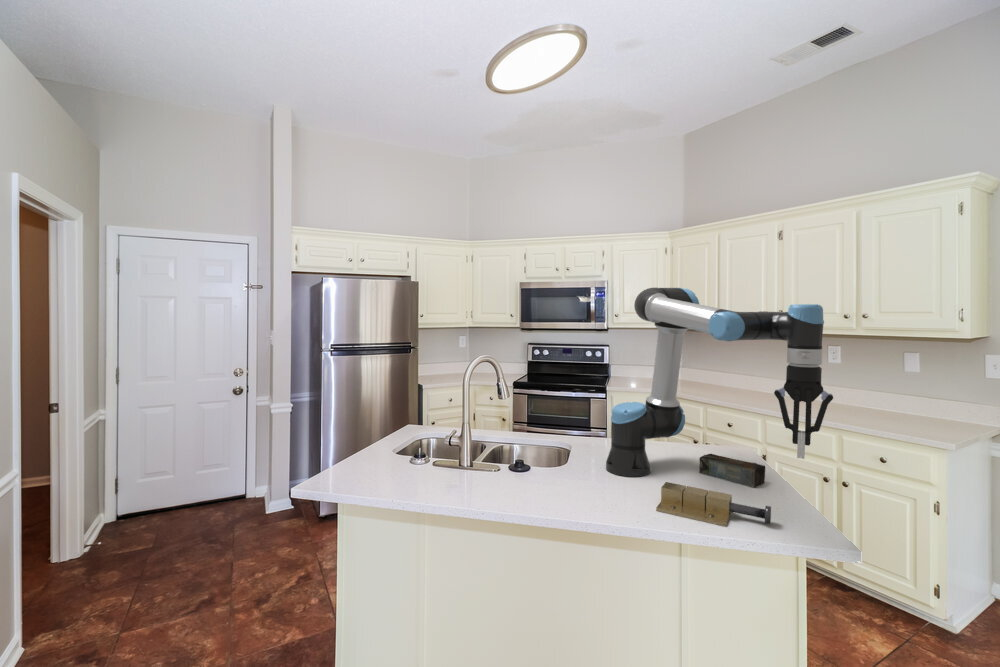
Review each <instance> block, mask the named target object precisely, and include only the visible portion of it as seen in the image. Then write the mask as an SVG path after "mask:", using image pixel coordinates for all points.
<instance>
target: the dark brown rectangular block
mask: <svg viewBox="0 0 1000 667" xmlns="http://www.w3.org/2000/svg"><path fill="white" fill-rule="evenodd" d="M698 467H699V468H698V469H699V470H698V471H699V472H698V473H699V474H701V475H704V476H705V475H706V476H709V477H712V478H715V479H720V480H723V481H727V482H730V483H731V482H732V483H735V484H740V485H743V486H747V487H750V488H757V487H759V486H762V485H763V484H765V481H766V466H765V465H764V464H759V463H756V462H749V461H745V460H740V459H735V458H732V457H728V456H727V457H726V456H723V455H718V454H713V453H707V454H704V455H702V456H700V457H699V466H698ZM761 484H762V485H761Z"/></svg>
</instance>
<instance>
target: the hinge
mask: <svg viewBox="0 0 1000 667" xmlns="http://www.w3.org/2000/svg"><path fill="white" fill-rule="evenodd" d="M660 490H661V491H660V493H661V494H660V495H661V496H660V497H661V498H660V502H659V504H658V505H657V506H656V510H655V511H656V512H660V513H663V514H669V515H674V516H678V517H681V518H682V517H683V518H687V519H690V520H696V521H700V522H703V523H709V524H713V525H716V526H722V527H727V525H728V523H729V520H730V517H731V515H732V513H733V512H730V511H729V508H730V502H731V503H733V502H732V500H733V495H732V494H731V493H726V492H725V493H724V492H721V491H720V492H719V491H715V490H710V489H706V488H705V489H704V488H700V487H694V486H688V485H685V484H684V485H682V484H680V483H679V484H678V483H673V482H668V481H665V482H664V484H663V485H662V486H661V489H660Z"/></svg>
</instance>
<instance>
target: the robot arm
mask: <svg viewBox="0 0 1000 667" xmlns="http://www.w3.org/2000/svg"><path fill="white" fill-rule="evenodd" d="M634 310H635V313H636V315H637V316H638V317H639V318H640V319H641V320H643V321H645V322H651V323H654V326H655V328H656V329H657V340H656V349H655V357H654V366H653V375H652V384H651V393H650V394H649V395H648V396H646V399H645V404H644V403H643V402H637V401H632V402H631V401H630V402H629V401H628V402H621V403H618V404H616V405H615V406H613V408H612V410H611V418H610V421H611V426H610V428H611V432H610V433H611V436H610V437H611V439H610V440H611V443H610V444H611V445H610V450H609V452H608V456H607V458H606V461H605V470H607V472H609V473H610V474H613V475H618V476H621V477H627V478H628V477H631V478H632V477H633V478H636V477H644V476H647V475H649V474H650V473H651V464H650V460H649V458H648V454H647V451H646V440H651V439H661V438H662V439H663V438H664V439H665V438H671V437H674V436H677V435H679V434H680V433H681V432H682V430H683V428H684V426H685V424H686V415H685V413H684V410H683V408H682V407H681V402H680V401H679V400H678V399H677V393H678V384H679V377H680V376H679V375H680V367H681V361H682V354H683V344H684V337H685V333H686V332H687V331H688V330H692V331H693V330H694V331H697V332H700V333H705V334H708V335H711V336H712V337H713V338H714V339H715V340H717V341H724V342H734V341H760V340H761V341H762V340H763V341H764V340H765V341H766V340H768V341H769V340H773V341H787V348H786V363H787V364H788V365H787V366H786V373H785V374H786V375H785V377H786V378H785V382H784V385H783V387H780V388H779V389H775V390H774V392H773V394H774V396H775V397H776V398H777V400H778V404H779V409H780V413H781V416H782V420H783V424H784V428H785V429H789V430H790V431H792V439H791V440H792V444H794V445H797V446H796V447H797V449H796V451H797V454H796V455H797V456H796V458H797V459H803V460H804V459H805V455H806V454H805V453H806V451H805V448H806V446H810V445H811V435H812V434H813V433H815V432H816V433H817V432H819V431H820V430H821V428H822V427H821V426H822V423H823V421H824V417H825V414H826V412H827V409H828V406H829V404H830V403H831V402H832V401H833V400H834V395H833V394H832V393H828V392H827V391H825V390H824V387H823V385H822V369H823V368H822V367H821V365H822V364H823V333H824V324H825V321H824V307H823V306H822V305H820V304H818V303H817V304H816V303H815V304H811V303H810V304H809V303H807V304H802V303H801V304H790V305H789V306H788V310H787V311H768V310H767V311H761V310H760V311H735V310H729V309H724V308H718V307H715V306H710V305H705V304H700V302H699V298H698V296H696V293H694V291H692V290H691V289H688V288H682V287H649V288H646V289H644V290H642V291H641V292H640V293H638V295H637V296H636V297H635V301H634ZM786 394H787V395H788V396H789V397H790V399H791V400H792V401H793V409H792V410H793V415H792V416H793V417H792V423H791V421H790V416H789V413H788V412H789V411H788V408H787V404H786V400H785V396H786ZM820 395H821V397H820V399H821V400H822V401H821V403H820V407H819V410H818V413H817V416H816V419H815V422H814V425H812V406H813V405H812V404H813V402H815V400H817V398H818V397H819V396H820ZM801 402H802V403H805V420H804V422H805V423H804V424H805V426H804V430H800V429H799V425H800V420H799V419H800V403H801Z"/></svg>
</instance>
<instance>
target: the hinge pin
mask: <svg viewBox="0 0 1000 667" xmlns="http://www.w3.org/2000/svg"><path fill="white" fill-rule="evenodd" d="M729 511H730V512H732V513H736V514H739V515H740V514H741V515H746V516H751V517H755V518H758V519H759V518H760V519H764V524H769V525H771V521H772V520H771V519H772V506H769V505H765V508H761V507H755V506H751V505H747V504H740V503H735V502H732V503H731V502H730V508H729Z"/></svg>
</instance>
